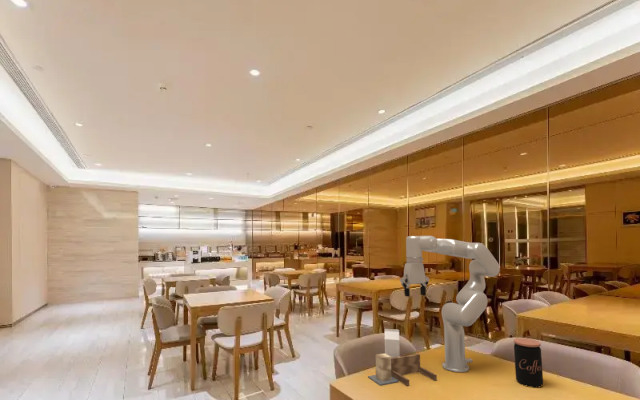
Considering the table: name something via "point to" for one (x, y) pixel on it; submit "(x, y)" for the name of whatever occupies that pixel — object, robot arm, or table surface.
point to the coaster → (383, 381)
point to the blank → (383, 367)
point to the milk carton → (392, 343)
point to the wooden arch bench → (408, 368)
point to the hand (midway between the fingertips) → (415, 295)
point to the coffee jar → (528, 362)
